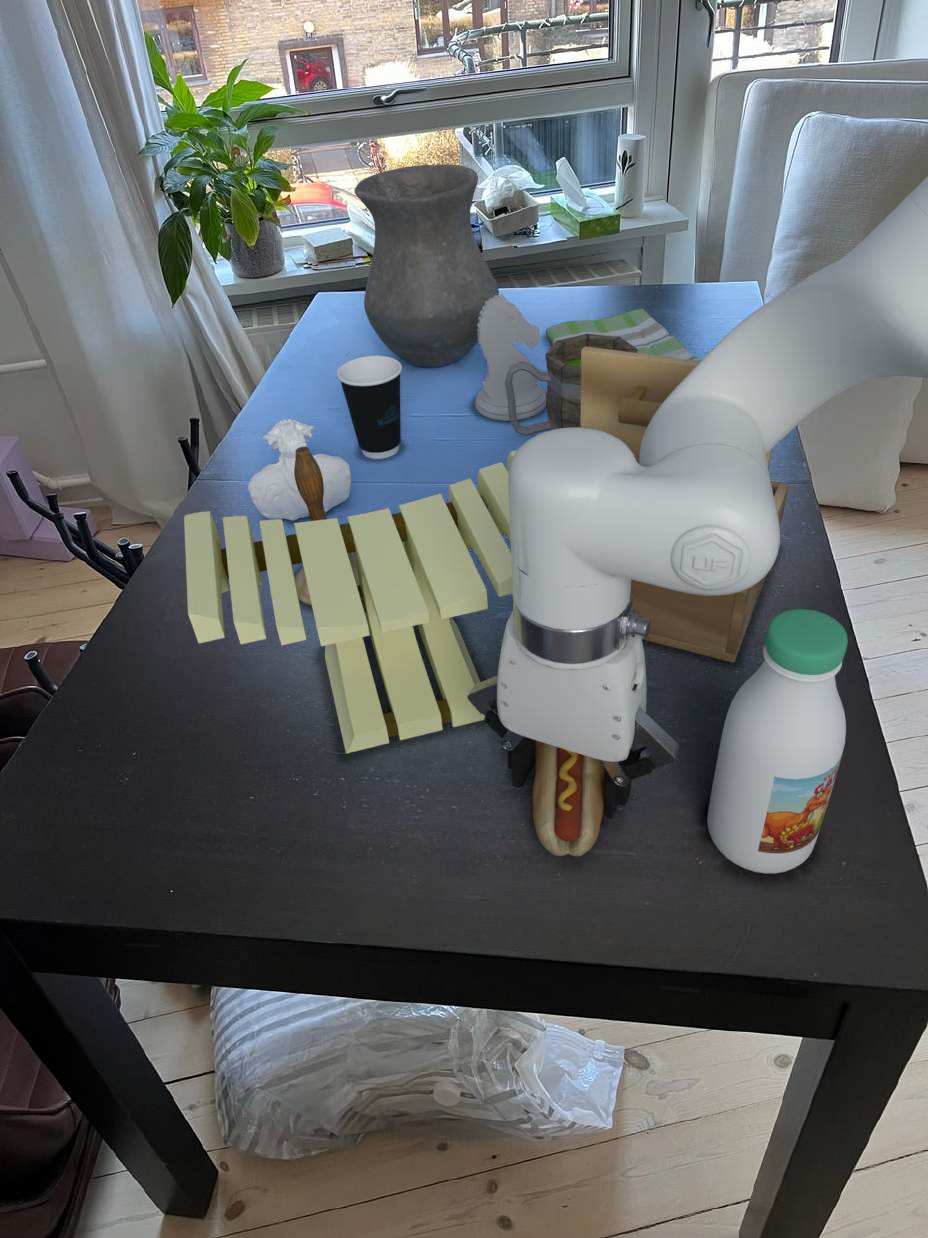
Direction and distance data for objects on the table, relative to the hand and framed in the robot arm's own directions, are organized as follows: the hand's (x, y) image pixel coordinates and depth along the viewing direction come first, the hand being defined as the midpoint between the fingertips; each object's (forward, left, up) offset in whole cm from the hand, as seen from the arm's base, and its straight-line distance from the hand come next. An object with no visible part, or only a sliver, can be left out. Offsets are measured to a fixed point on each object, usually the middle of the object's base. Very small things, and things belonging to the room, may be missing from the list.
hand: (568, 787), depth 69 cm
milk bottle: (-14, -2, -1) cm, 14 cm away
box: (-1, -29, -1) cm, 29 cm away
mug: (+20, -52, -1) cm, 56 cm away
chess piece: (+31, -60, -1) cm, 67 cm away
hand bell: (+33, -16, -1) cm, 37 cm away
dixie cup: (+42, -43, -1) cm, 60 cm away
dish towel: (+21, -78, -1) cm, 81 cm away
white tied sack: (+44, -28, -1) cm, 52 cm away
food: (0, 0, -1) cm, 1 cm away
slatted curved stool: (+19, -7, -1) cm, 20 cm away
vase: (+48, -70, -1) cm, 85 cm away
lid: (-1, -20, +17) cm, 26 cm away
